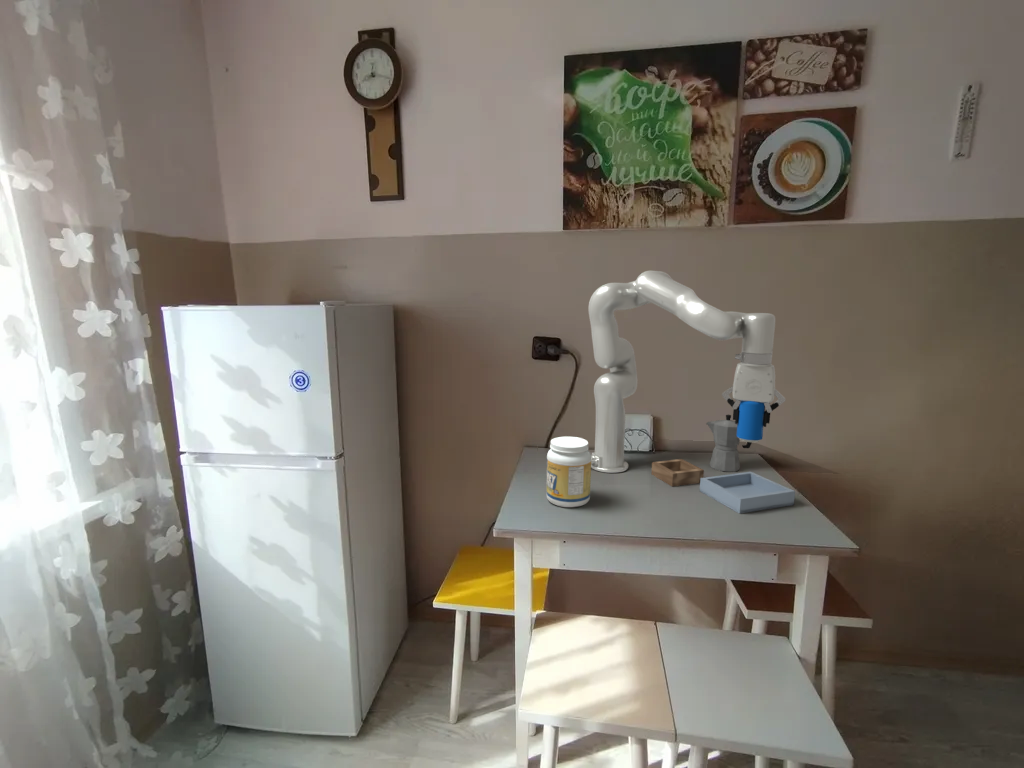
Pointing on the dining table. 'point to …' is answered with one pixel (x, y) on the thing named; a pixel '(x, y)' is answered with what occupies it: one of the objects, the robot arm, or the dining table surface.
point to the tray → (747, 492)
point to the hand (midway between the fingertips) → (750, 423)
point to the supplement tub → (568, 472)
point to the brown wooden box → (677, 472)
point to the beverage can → (750, 421)
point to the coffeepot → (725, 445)
